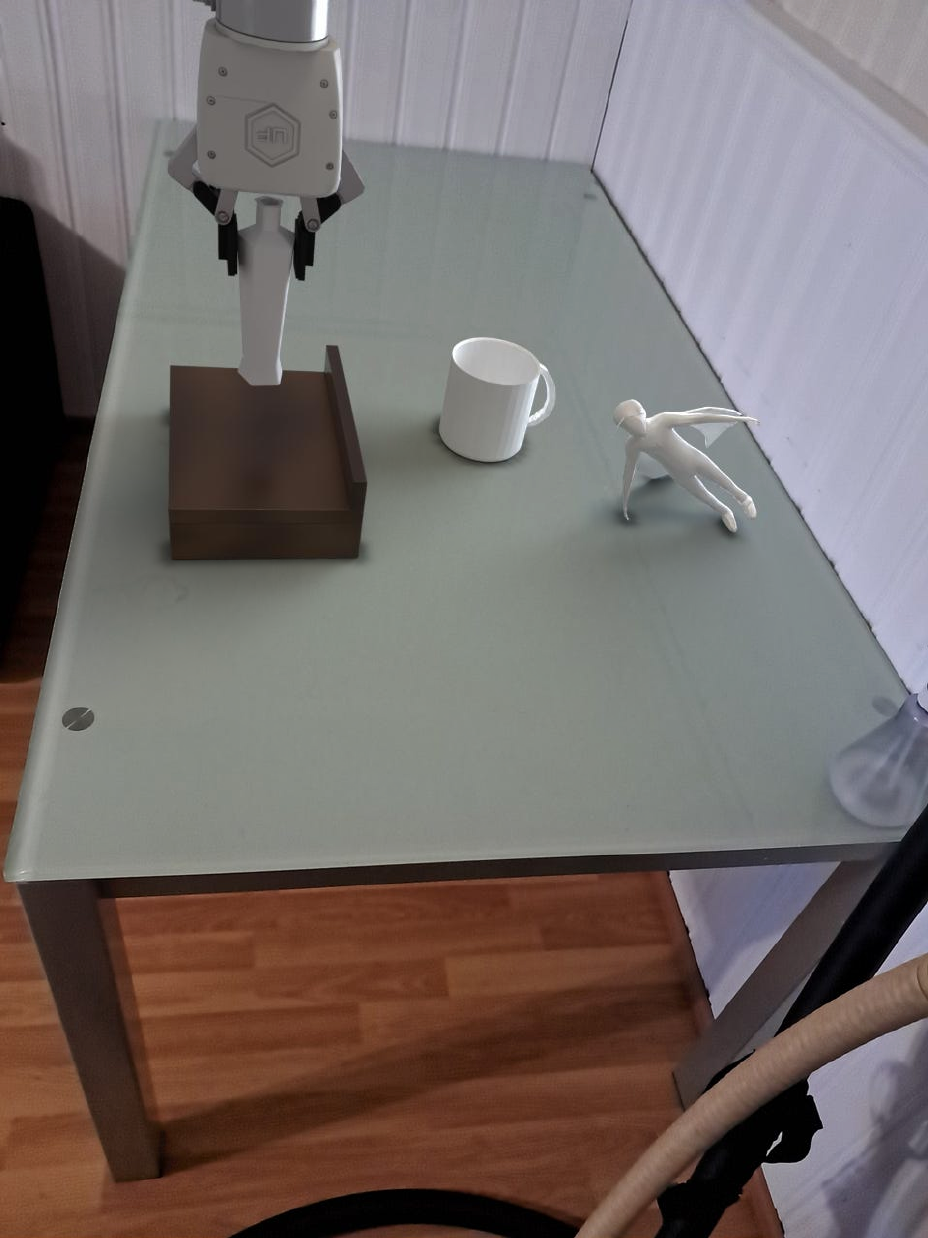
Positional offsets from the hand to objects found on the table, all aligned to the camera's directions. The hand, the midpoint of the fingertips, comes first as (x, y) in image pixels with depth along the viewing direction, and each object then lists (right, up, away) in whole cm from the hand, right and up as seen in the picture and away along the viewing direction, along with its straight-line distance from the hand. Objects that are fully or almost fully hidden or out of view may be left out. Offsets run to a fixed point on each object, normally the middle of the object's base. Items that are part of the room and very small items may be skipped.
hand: (265, 268), depth 76 cm
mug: (+19, -9, +27) cm, 34 cm away
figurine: (+36, -16, +23) cm, 45 cm away
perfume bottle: (-2, -7, +7) cm, 10 cm away
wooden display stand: (-4, -15, +15) cm, 21 cm away
